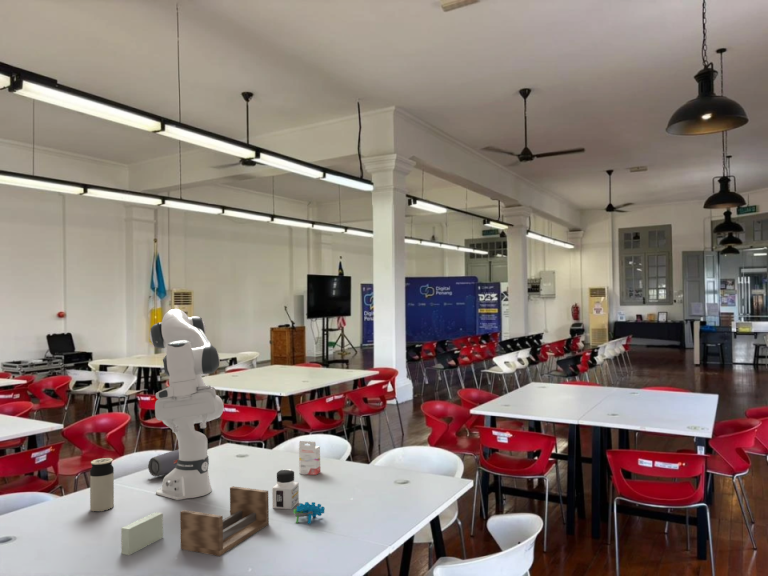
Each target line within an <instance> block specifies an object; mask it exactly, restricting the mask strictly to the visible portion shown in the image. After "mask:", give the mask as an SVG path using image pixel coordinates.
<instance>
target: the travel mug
mask: <svg viewBox="0 0 768 576" xmlns="http://www.w3.org/2000/svg"><path fill="white" fill-rule="evenodd" d="M113 461H114V459H113V458H111V457H105V458H104V457H102V458H97V459H93V460H91V461H90V464H91V468H90V472H89V473H90V474H89V479H90V480H89V488H90V489H89V497H90V498H89V509H90V512H94V511H101V512H105V511H104V510H106V511H108V509H109V510H111V509H112V508H113V507H114V506H115V503H114V502H115V501H114V500H115V499H114V497H115V495H114V493H115V492H114V491H115V490H114V489H115V488H114V486H115V485H114V483H115V482H114V478H115V475H114V471H115V470H114V466H113ZM110 508H111V509H110Z"/></svg>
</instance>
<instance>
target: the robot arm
mask: <svg viewBox="0 0 768 576" xmlns="http://www.w3.org/2000/svg"><path fill="white" fill-rule="evenodd" d="M206 333H207V326H206V323H205V322H204V320H203V318H202V317H200V316H195V315H194V316H193V315H192V316H191V317H189V316H188V314H186V312H185V311H183V310H182V309H178V308H174V309H169V310H168V311H167V312H166V313H164V315H163V318H162V321H161V322H157V323H155V324H153V325H152V326H151V327H150V331H149V340H150V342H151V344H152V345H153V347H154V348H156V349H165V348H166V354H165V356H164V357H163V358H162V363H163V372H164V373H163V374H165V375H166V376H167V377H169V378H168V379H169V380H168V384H169V386H166V387H165V388H163V389H160V390H159V391H158V392H156V393H155V398H156V401H155V404H154V414H155V418H156V420H157V421H162V423H163V425H165V426H167V427H168V428H170V429H171V430H172V431H171V432H172V433H174V434H175V437H176V439H177V442H178V443H177V444H178V445H177V446H178V450H179V459H178V460H175V461H176V462H174V463H177V464H176V468H175V469H173V470H172V471H171V472H170V473H169V474H167V475H164V477H163V480H162V485H161V486H162V487H160V488H158V489H156V491H155V495H158V496H161V497H166V498H169V499H173V500H175V501H179V500H180V501H181V500H185V499H193V498H199V497H203V496H206V495H208V494H210V493H211V492H212V491H213V489H212V485H211V481H210V480H211V479H210V473H209V465H210V464H209V463H210V461H209V460H210V459H209V455H208V438H207V436H206V435H205V434H204V433H202V432H200V431H197V430H196V429H195V424H199V429H201V430H202V429H206V428H207V422H210V421H213V420H216V419H218V418H220V417H221V416H222V414H223V413H224V408H225V407H224V401H223V399H222V398H221V397H220V396H219V395H217V392H216V391H217V390H216V388H215V387H214V386H211V385H206V383H205V382H204V379H203V377H202V375H203V374H204V375H208V374H214V373H215V372H216V371H217V370H218V368H219V367H220V361H221V360H220V355H219V352H218V350H217V348H216V347H215V346H214V345H212V343H211V342H210V340H209V338H208V337H207V335H206Z"/></svg>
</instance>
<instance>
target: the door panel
mask: <svg viewBox="0 0 768 576" xmlns="http://www.w3.org/2000/svg"><path fill="white" fill-rule="evenodd" d="M120 530H121V533H120V535H121V536H120V539H121V540H120V541H121V543H120V544H121V546H120V548H121V549H120V551H121V553H120V554H121V555H124V556H131V555H133V554H135V553H136V552H138V551H140V550H142V549H144V548H145V547H148V546H149V545H151V543H152V544H153V543H156V542H157V541H159V540H162V539H163V538H164V514H163V512H156V511H155V512H153V513H150V514H149V515H146V516H145V517H142V518H140V519H137V520H136V521H134V522H132V523H131V522H130V523H129V524H127V525H124V526H123V527H121V528H120ZM147 545H148V546H147Z"/></svg>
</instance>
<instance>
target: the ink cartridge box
mask: <svg viewBox="0 0 768 576" xmlns="http://www.w3.org/2000/svg"><path fill="white" fill-rule="evenodd" d="M298 444H299V445H298V447H299V448H298V457H299V461H298V463H299V464H298V465H299V467H298V469H299V475H311V476H317V475H318V474H320V473H321V446H320V445H316V441H308V440H304V441H303V440H302V441H301V440H299V443H298ZM307 444H308V445H307Z"/></svg>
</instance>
